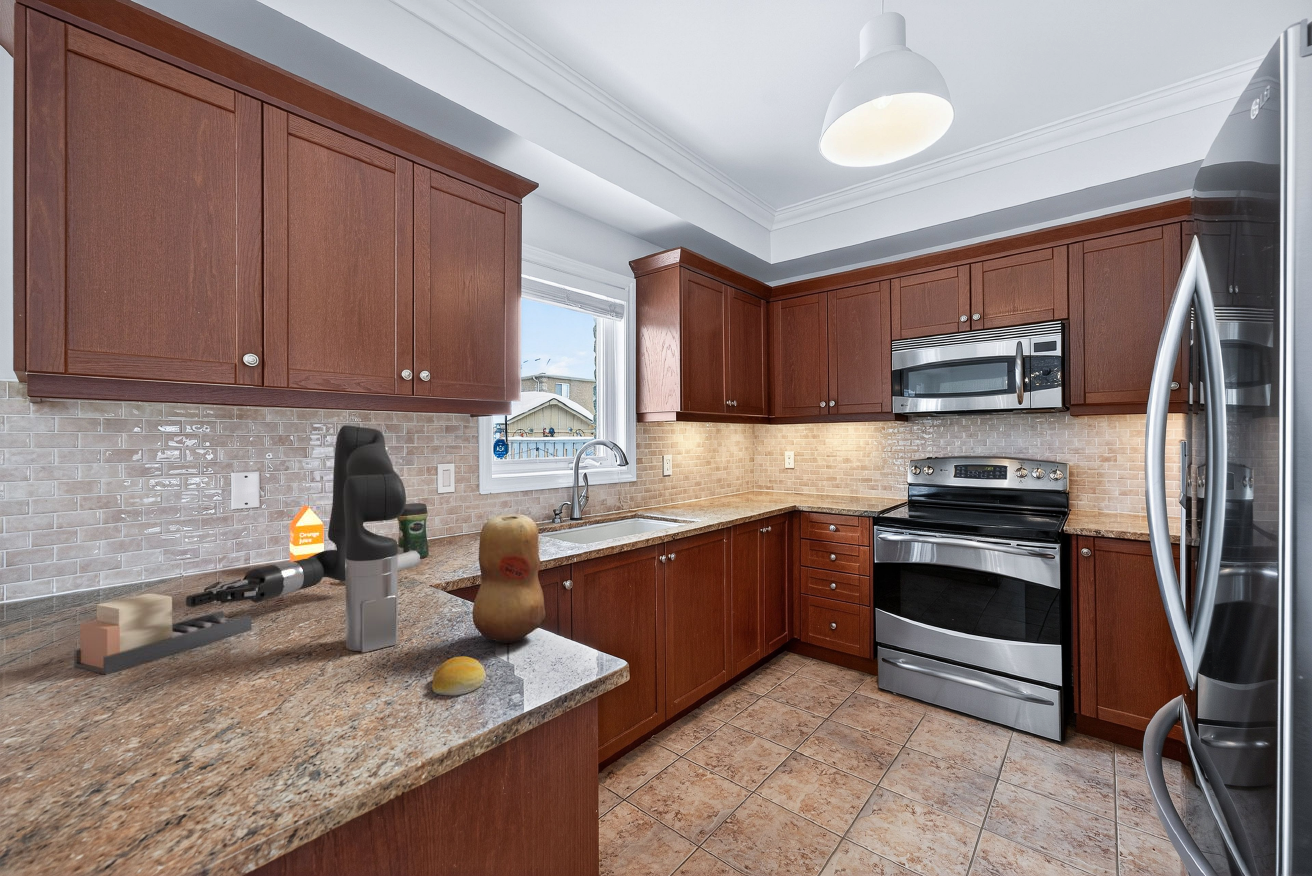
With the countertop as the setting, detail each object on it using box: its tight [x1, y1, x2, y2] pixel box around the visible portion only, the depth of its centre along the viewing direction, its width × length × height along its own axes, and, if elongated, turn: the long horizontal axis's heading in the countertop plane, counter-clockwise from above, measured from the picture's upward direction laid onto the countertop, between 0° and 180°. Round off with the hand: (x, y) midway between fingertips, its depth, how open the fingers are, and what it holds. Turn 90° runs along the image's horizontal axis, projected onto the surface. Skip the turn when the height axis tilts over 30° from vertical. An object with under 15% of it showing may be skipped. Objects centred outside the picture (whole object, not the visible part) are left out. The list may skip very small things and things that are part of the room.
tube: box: [342, 550, 421, 585], centre depth 165 cm, size 5×5×25 cm
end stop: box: [80, 620, 120, 668], centre depth 98 cm, size 2×8×7 cm, turn 69°
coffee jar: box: [396, 502, 430, 559], centre depth 188 cm, size 10×8×19 cm
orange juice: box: [289, 504, 325, 562], centre depth 171 cm, size 8×9×20 cm
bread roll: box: [431, 656, 487, 697], centre depth 91 cm, size 8×9×4 cm
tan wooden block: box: [96, 593, 173, 652], centre depth 103 cm, size 8×7×8 cm
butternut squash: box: [472, 513, 546, 644], centre depth 110 cm, size 14×13×25 cm
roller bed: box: [73, 610, 253, 675], centre depth 108 cm, size 24×10×3 cm, turn 159°
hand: (188, 601), depth 111 cm, fingers closed
